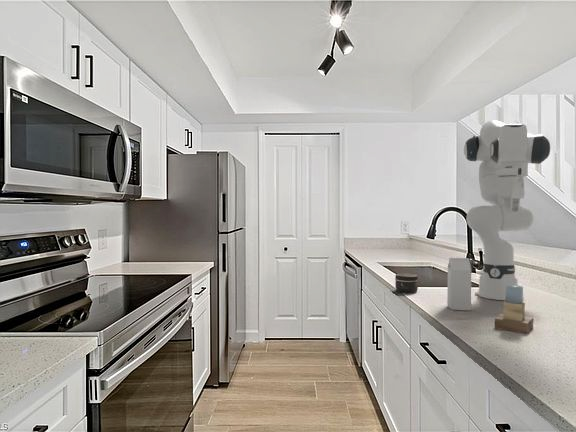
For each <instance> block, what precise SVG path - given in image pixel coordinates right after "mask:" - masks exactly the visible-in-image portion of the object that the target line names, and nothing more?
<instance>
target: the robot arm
mask: <svg viewBox="0 0 576 432" xmlns="http://www.w3.org/2000/svg"><path fill="white" fill-rule="evenodd" d="M550 154H551V143H550V140H549V139H548V138H547V137H546V136H545V135H543V134H532V133H529V132H528V129H527V125H526V124H524V123H507V124H506V123H504V121H503V122H502V121H499V120H490V121H489V120H488V121H487V122H485V123H484V124H483V125H482V126H481V128H480V131H479V135H477V136H476V135H473V136H472V137H471V138H468V139H467V140H466V141H465V143H464V146H463V155H464V156H465V158H466V159H467V161H469V162H480V164H479V167H478V182H479V189H480V196H481V198H482V199H483V201H485V202H486V203H488V204H489V205H479V206H474V207H471V208H470V209H469V210H468V211H467V214H466V218H465V219H466V224H467V225H468V227H469V228H470V229H471V230H472V231H474V232H475V233H476V234H477V235H478V236H479V238H480V240H481V242H482V244H483V245H482V246H483V254H484V262H483V265H482V269H483V270H482V272H483V273H482V274H481V275H480V276H479V281H478V291H475V292H474V295H476V296H479V297H481V298H485V299H489V300H497V301H505V297H506V285H518V286H519V281H518V278H517V276H516V274H515V273H516V268H515V264H514V258H515V257H514V247H513V244H512V243H510V242H509V241H507V240H505V239H502V238H501V237H500V236H499V232H500V233H501V232H509V233H510V232H515V233H516V232H522V231H526V230H529V229H530V228H531V227H532V225H533V223H534V214H533V213H532V211H531V209H530V208H528V207H527V206H525V205H523V204H521V199H524V198H525V178H524V177H528V173H529V164H535V165H536V164H537V165H539V164H540V165H541V163H543V162H544V161H546V160H547V159H548V158H549V156H550ZM523 301H525V300H524V294H523Z"/></svg>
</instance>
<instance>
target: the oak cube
mask: <svg viewBox="0 0 576 432" xmlns="http://www.w3.org/2000/svg"><path fill="white" fill-rule="evenodd" d="M502 305H503V306H502V308H503V309H502V310H503V311H502V312H503V318H504V319H511V320H518V321H522V320H523V319H524V318H525V317H526V315H525V314H526V313H525V312H526V302H525V301H523V303H522V304H513V303H508V302H505V301H503V304H502Z"/></svg>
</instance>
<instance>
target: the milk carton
mask: <svg viewBox="0 0 576 432" xmlns="http://www.w3.org/2000/svg"><path fill="white" fill-rule="evenodd" d="M448 259H449V260H448V263H447V300H446V301H447V303H446V304H447V307H448V308H449V309H450V310H451V311H452V310H453V311H472V267H471V263H470V258H468V257H449V258H448Z"/></svg>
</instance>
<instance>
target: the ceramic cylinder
mask: <svg viewBox="0 0 576 432" xmlns="http://www.w3.org/2000/svg"><path fill="white" fill-rule="evenodd" d="M523 295H524V286H522V285H519V284H518V285H506V297H505V300H504V302H508V303H513V304H522V303H523V302H524V300H523Z"/></svg>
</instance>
